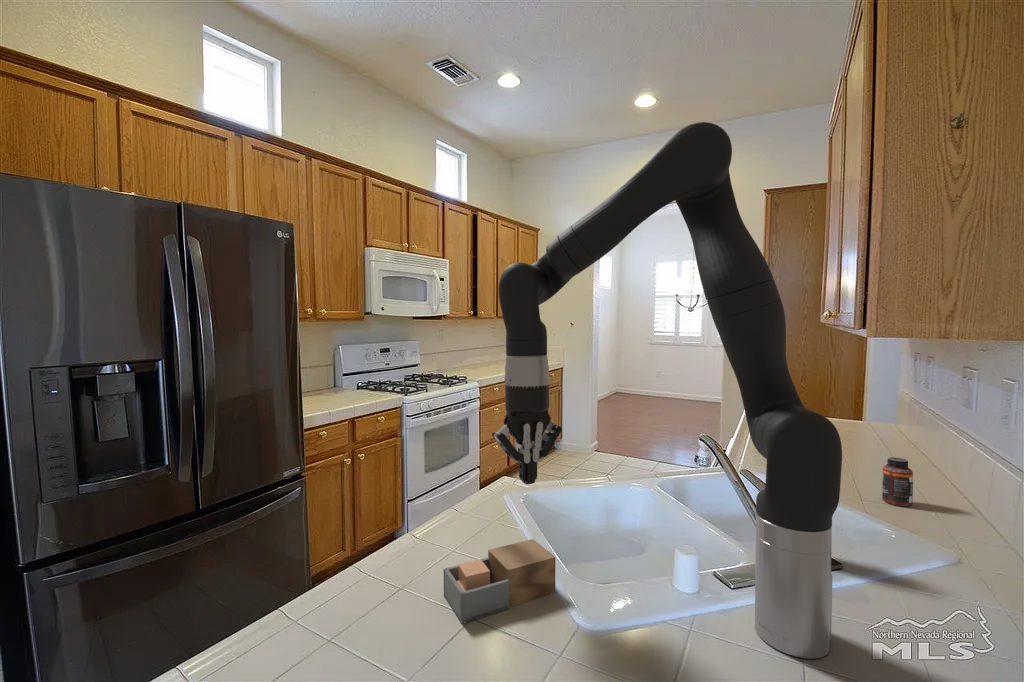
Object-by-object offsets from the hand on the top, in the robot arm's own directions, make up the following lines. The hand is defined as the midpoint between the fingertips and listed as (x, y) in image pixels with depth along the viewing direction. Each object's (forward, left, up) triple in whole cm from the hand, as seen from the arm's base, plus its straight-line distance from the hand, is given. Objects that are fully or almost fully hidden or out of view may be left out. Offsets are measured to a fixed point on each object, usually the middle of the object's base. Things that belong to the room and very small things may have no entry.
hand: (528, 482), depth 78 cm
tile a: (+10, 0, -15) cm, 18 cm away
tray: (+10, 0, -18) cm, 21 cm away
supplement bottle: (-102, +11, -18) cm, 104 cm away
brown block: (+1, 0, -18) cm, 18 cm away
